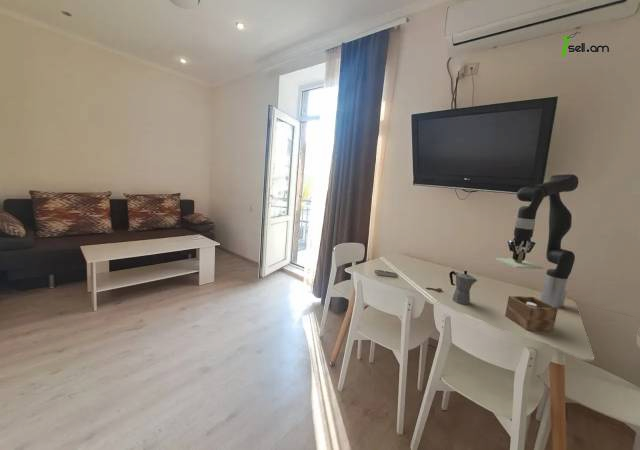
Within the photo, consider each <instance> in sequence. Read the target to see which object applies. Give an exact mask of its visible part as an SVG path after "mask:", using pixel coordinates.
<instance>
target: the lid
mask: <svg viewBox="0 0 640 450" xmlns="http://www.w3.org/2000/svg"><path fill="white" fill-rule="evenodd" d="M523 253H524V251H521V250H520V251H519V253H518V254H519V255H518V260H517V261H515V260H513V258H508V257H507V258H506V257H495V258H494V261H497V262H500V263H502V264H504V265H507V266H510V267H513V268H515V269H524V270H525V269H526V270H527V269H528V270H529V269H530V270H531V269H533V270H534V269H535V270H543V269H544V266H541V265H538V264H535V263H532V262H530V261H526V260H524V261H522V258H523Z"/></svg>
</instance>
